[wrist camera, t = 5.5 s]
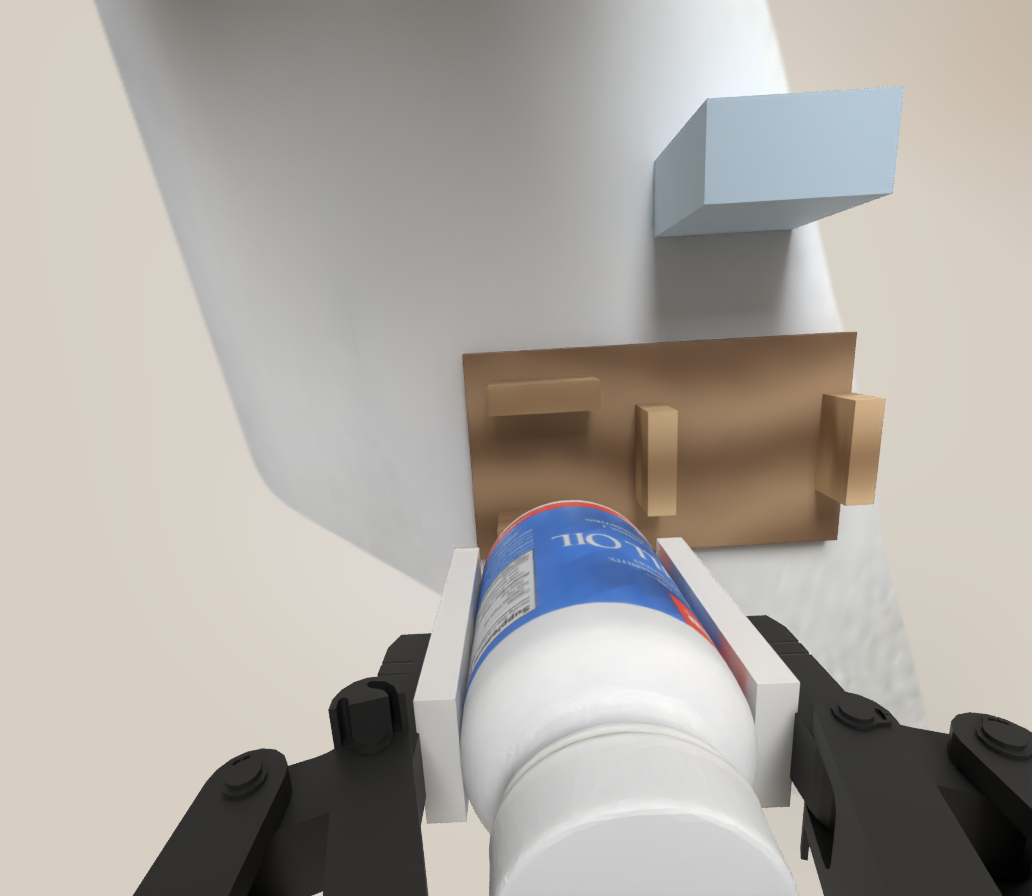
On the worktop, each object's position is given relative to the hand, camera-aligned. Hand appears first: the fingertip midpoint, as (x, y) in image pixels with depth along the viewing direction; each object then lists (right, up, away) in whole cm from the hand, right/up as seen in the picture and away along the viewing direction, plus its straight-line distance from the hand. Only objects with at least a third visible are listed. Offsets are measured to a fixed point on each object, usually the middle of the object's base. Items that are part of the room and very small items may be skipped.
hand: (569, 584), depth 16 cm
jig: (+7, +4, +17) cm, 18 cm away
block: (+10, +19, +13) cm, 25 cm away
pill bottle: (0, 0, 0) cm, 1 cm away
